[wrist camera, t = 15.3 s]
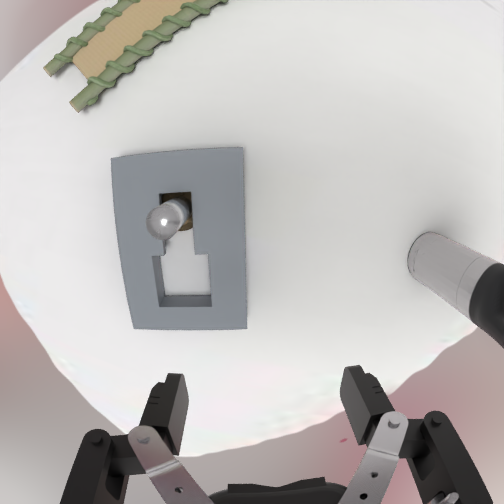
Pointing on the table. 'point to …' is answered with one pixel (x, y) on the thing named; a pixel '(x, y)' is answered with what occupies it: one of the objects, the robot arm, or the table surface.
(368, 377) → the robot arm
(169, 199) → the steel peg
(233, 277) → the keyhole plate
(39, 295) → the table surface
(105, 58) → the stretcher
